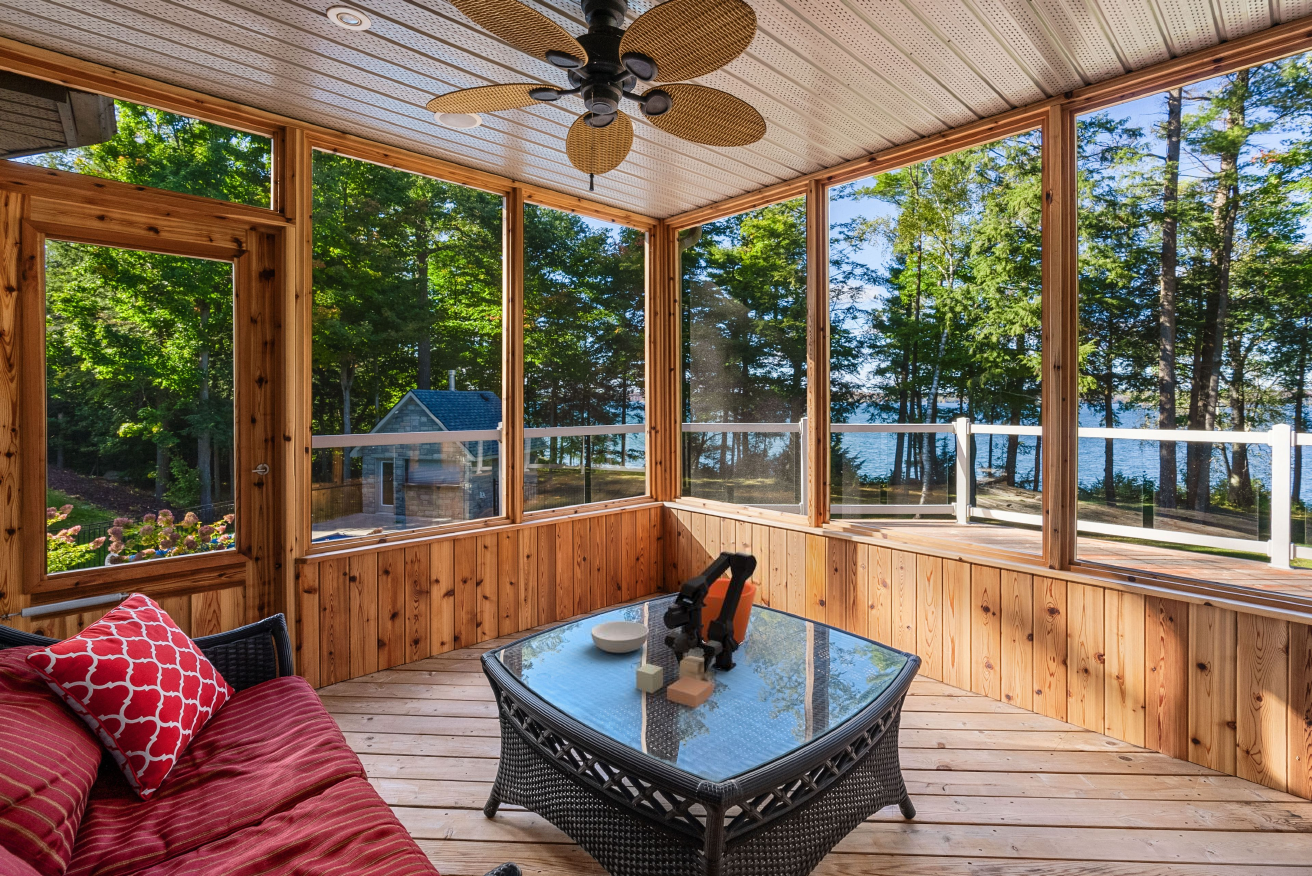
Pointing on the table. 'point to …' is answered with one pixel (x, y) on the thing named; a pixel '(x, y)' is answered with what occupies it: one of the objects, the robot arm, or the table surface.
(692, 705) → the terracotta base block
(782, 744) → the table surface
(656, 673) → the sage green cube
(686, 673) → the maple cube
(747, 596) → the flowerpot
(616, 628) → the serving bowl
